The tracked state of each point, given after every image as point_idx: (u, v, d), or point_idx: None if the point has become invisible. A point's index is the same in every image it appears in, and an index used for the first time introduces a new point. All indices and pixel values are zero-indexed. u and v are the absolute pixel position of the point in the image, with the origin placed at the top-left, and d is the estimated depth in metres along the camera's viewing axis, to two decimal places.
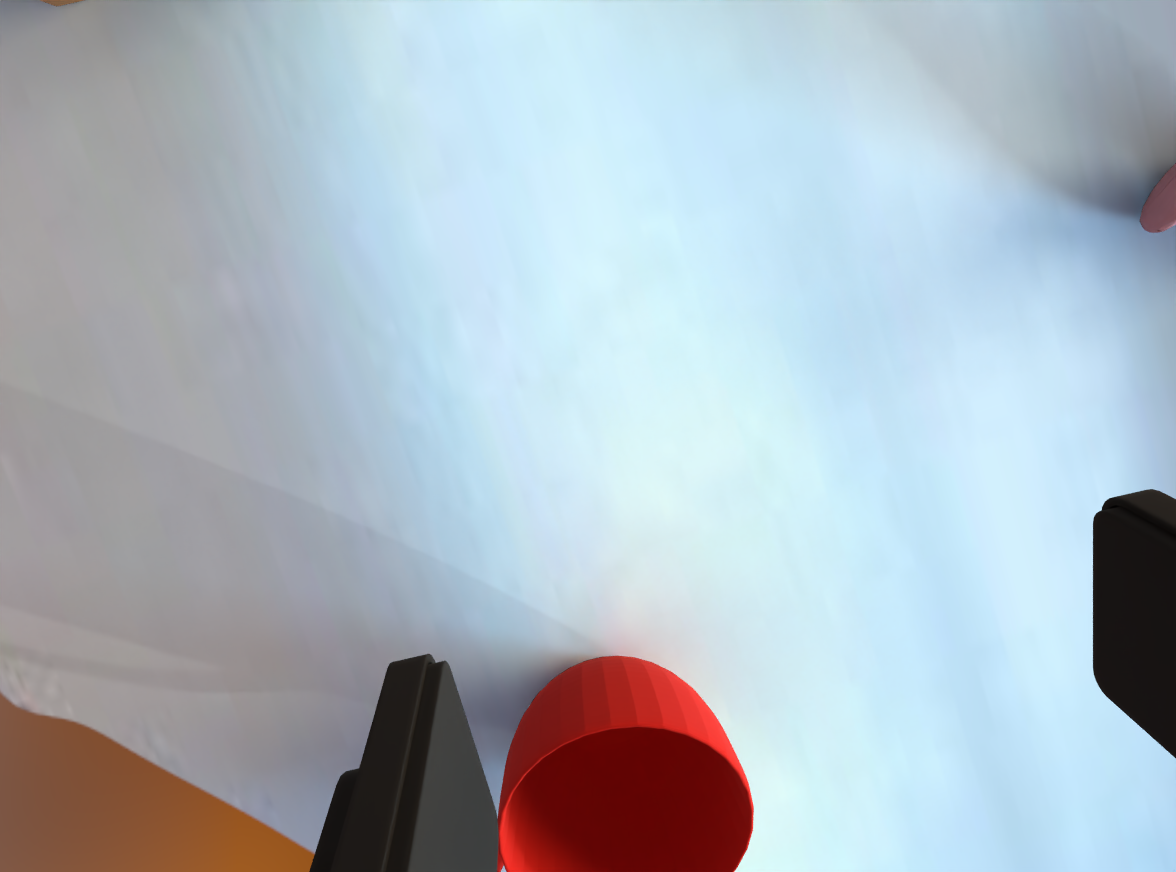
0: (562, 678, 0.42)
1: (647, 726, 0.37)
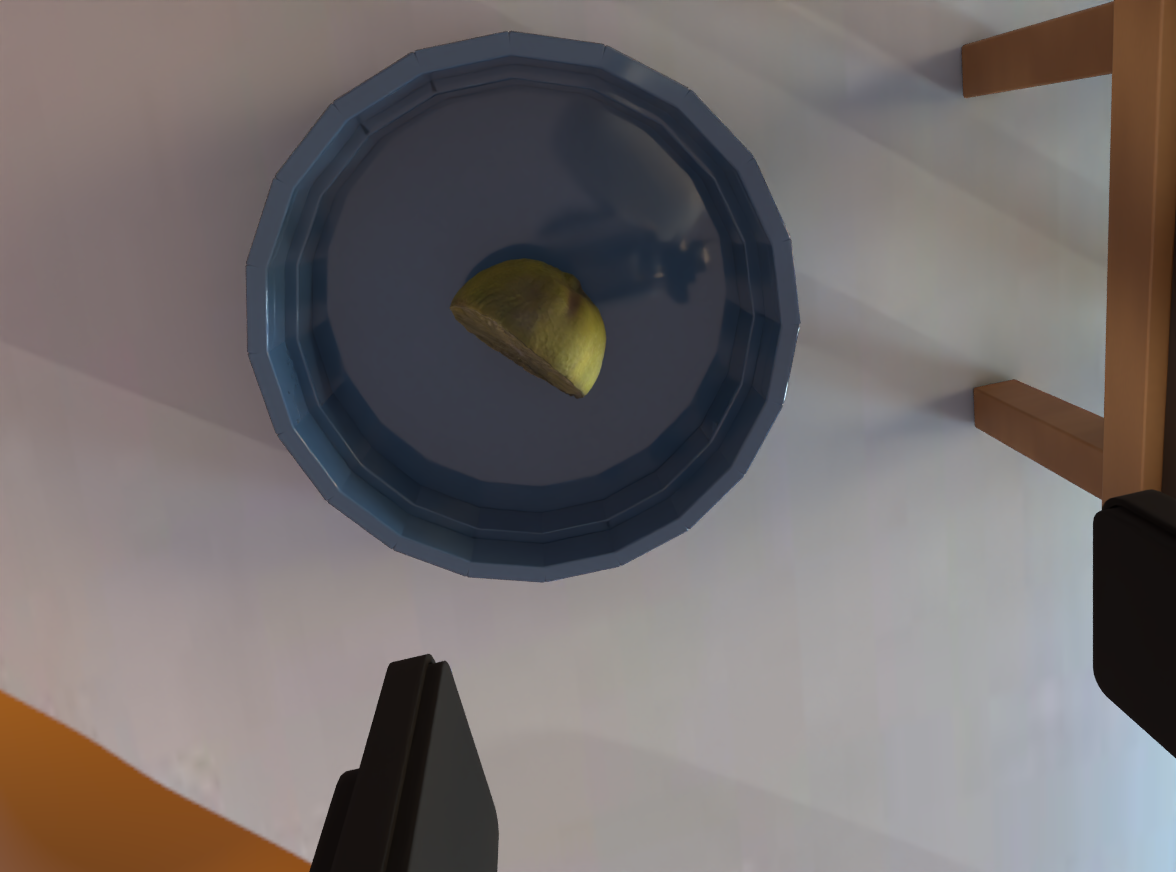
0: None
1: None
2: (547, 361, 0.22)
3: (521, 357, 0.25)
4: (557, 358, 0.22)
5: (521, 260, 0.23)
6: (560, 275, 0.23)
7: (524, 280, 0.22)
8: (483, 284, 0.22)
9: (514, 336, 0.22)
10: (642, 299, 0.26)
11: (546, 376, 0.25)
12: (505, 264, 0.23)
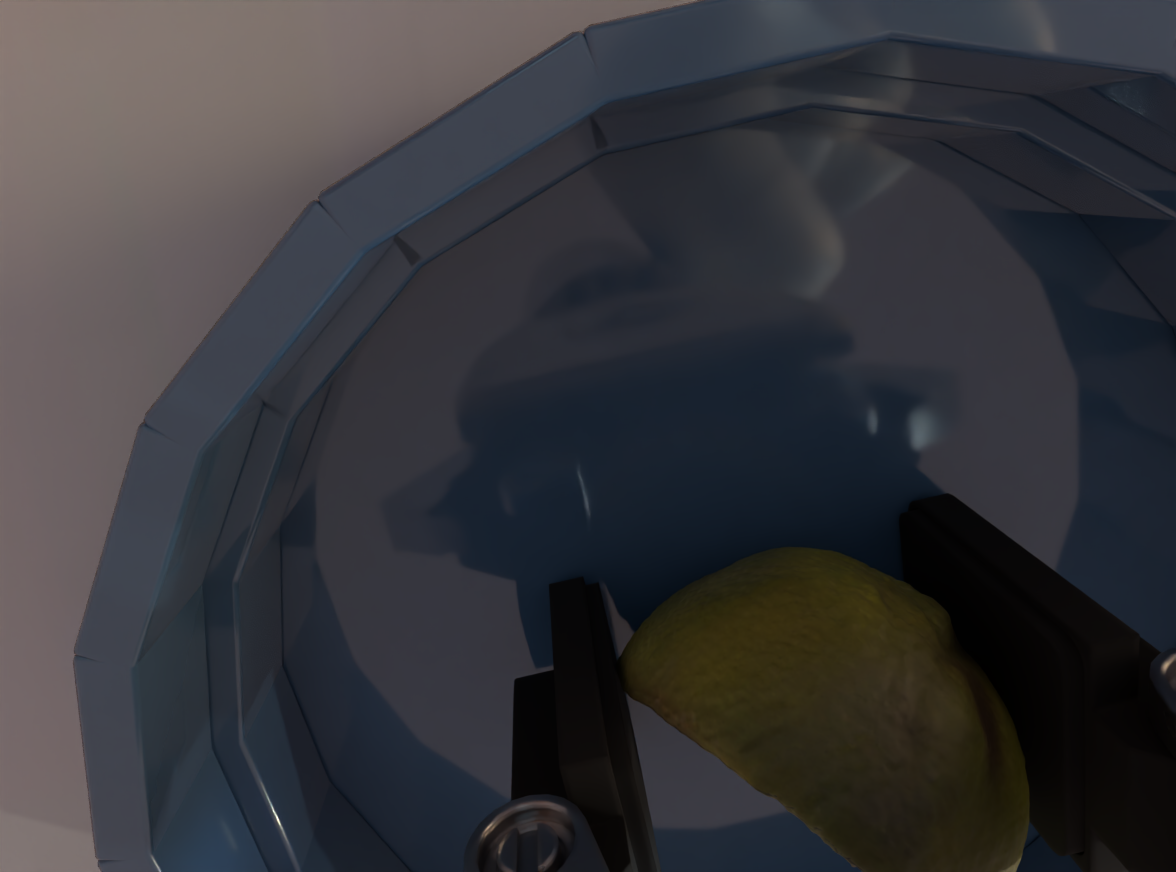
0: None
1: None
2: None
3: None
4: None
5: (824, 587, 0.09)
6: (931, 628, 0.09)
7: (869, 681, 0.08)
8: (744, 681, 0.08)
9: (862, 870, 0.07)
10: None
11: None
12: (785, 602, 0.09)
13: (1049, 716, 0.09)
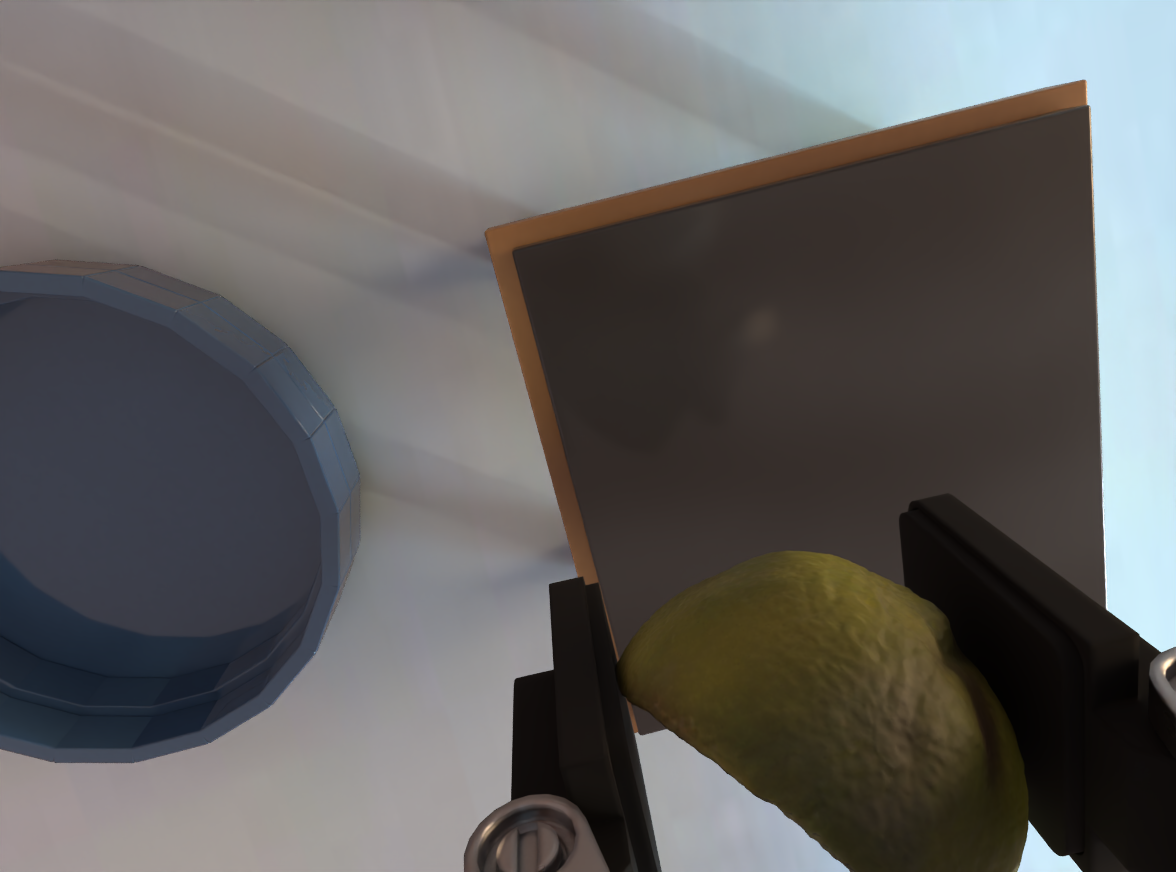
0: None
1: None
2: None
3: None
4: None
5: (823, 592, 0.09)
6: (930, 633, 0.09)
7: (869, 687, 0.08)
8: (743, 685, 0.08)
9: None
10: (233, 477, 0.27)
11: None
12: (784, 607, 0.09)
13: (1049, 716, 0.09)
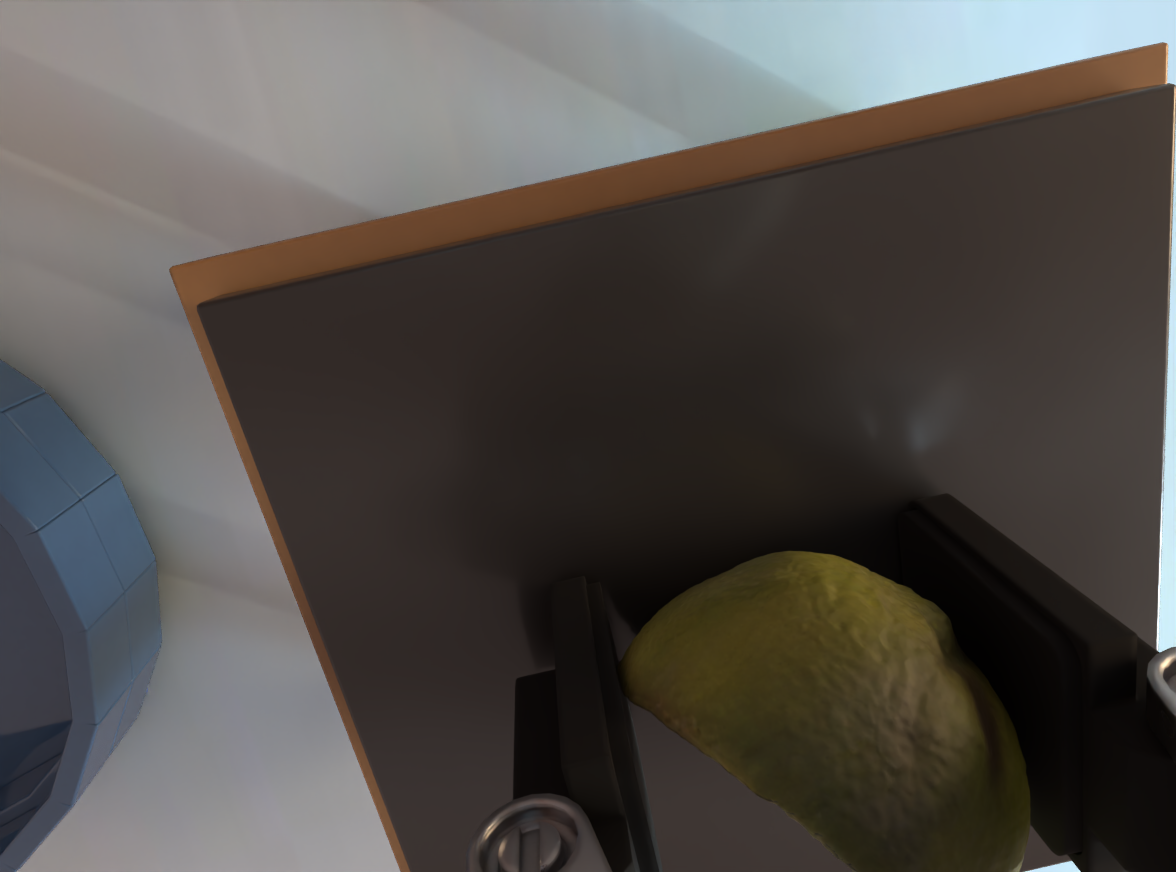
0: None
1: None
2: None
3: None
4: None
5: (825, 592, 0.09)
6: (932, 633, 0.09)
7: (871, 686, 0.08)
8: (746, 685, 0.08)
9: None
10: None
11: None
12: (785, 608, 0.09)
13: (1047, 716, 0.09)
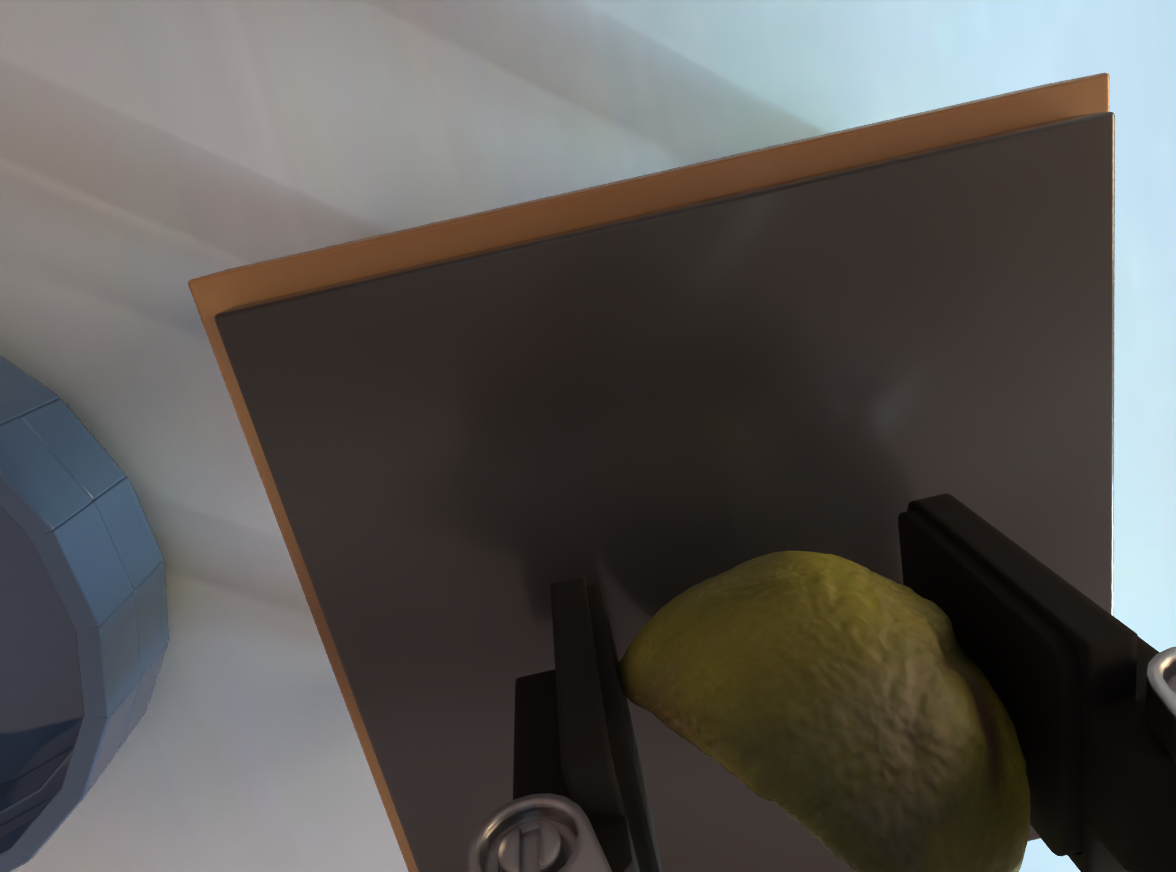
0: None
1: None
2: None
3: None
4: None
5: (825, 592, 0.09)
6: (932, 633, 0.09)
7: (871, 687, 0.08)
8: (745, 684, 0.08)
9: None
10: None
11: None
12: (785, 607, 0.09)
13: (1047, 716, 0.09)
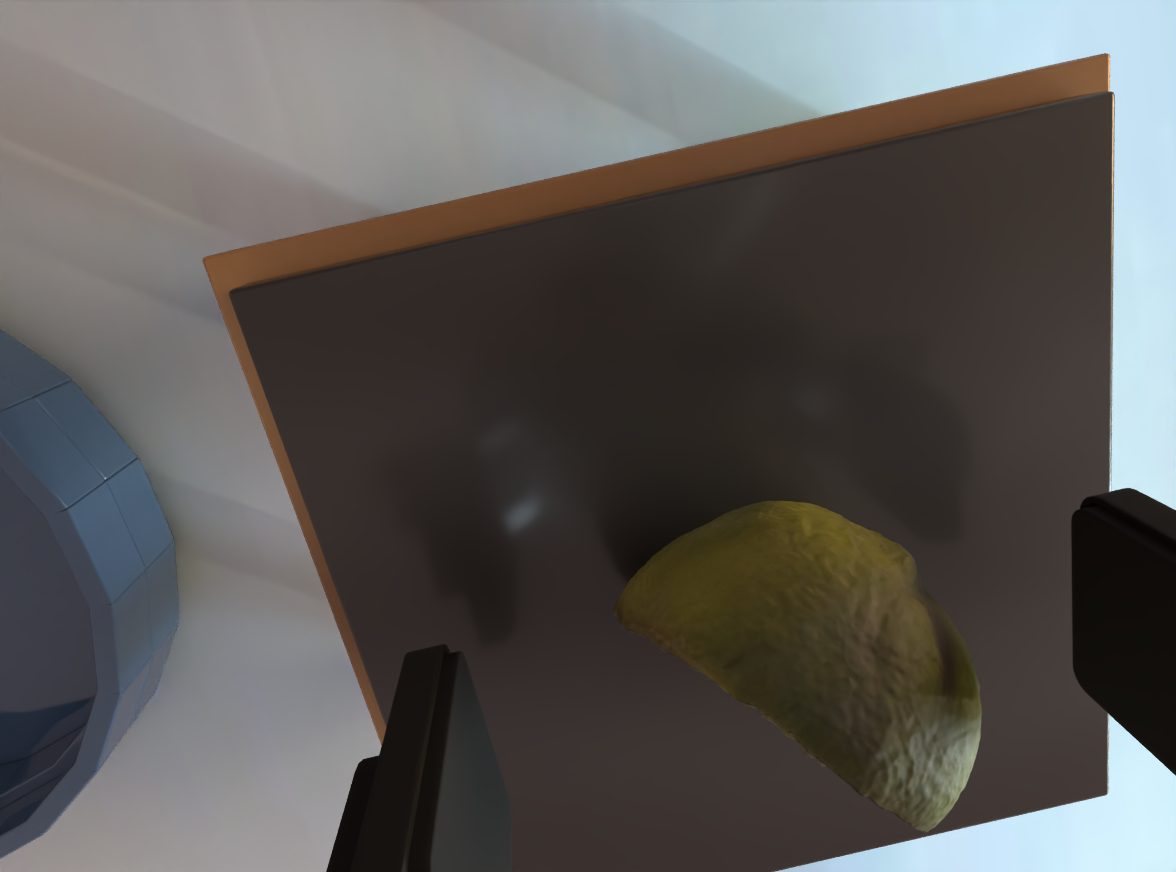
0: None
1: None
2: (903, 818, 0.09)
3: None
4: (929, 809, 0.09)
5: (801, 530, 0.10)
6: (896, 566, 0.10)
7: (839, 607, 0.09)
8: (728, 608, 0.09)
9: (829, 768, 0.08)
10: (12, 539, 0.22)
11: None
12: (766, 543, 0.10)
13: None
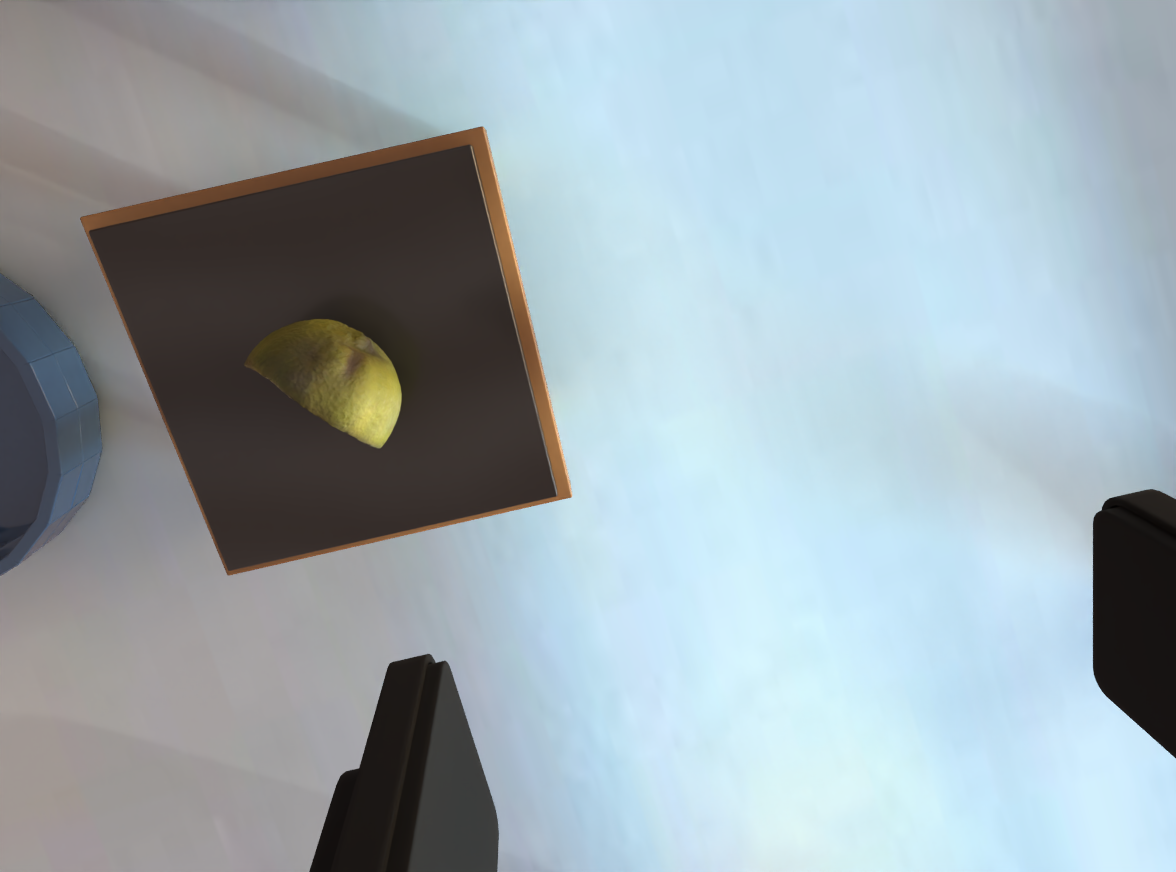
0: None
1: None
2: (323, 419, 0.23)
3: None
4: (333, 416, 0.23)
5: (308, 322, 0.24)
6: (344, 336, 0.24)
7: (303, 343, 0.23)
8: (267, 346, 0.24)
9: (290, 396, 0.23)
10: (0, 396, 0.36)
11: None
12: (292, 326, 0.24)
13: None
